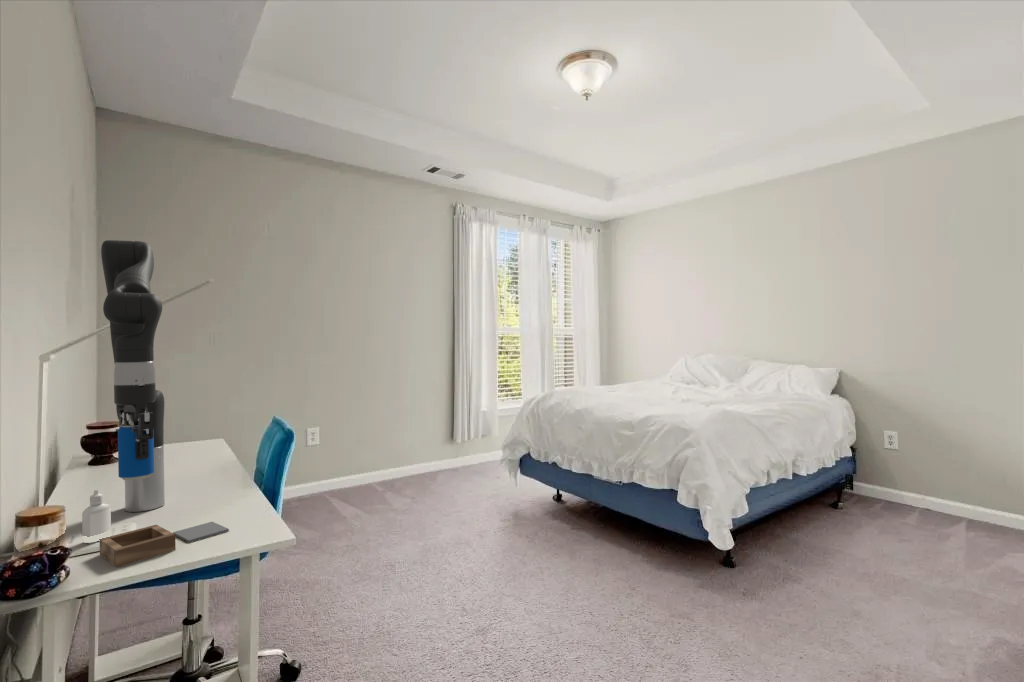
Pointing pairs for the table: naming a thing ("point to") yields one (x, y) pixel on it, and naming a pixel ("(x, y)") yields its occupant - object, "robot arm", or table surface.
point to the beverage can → (133, 456)
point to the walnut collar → (137, 545)
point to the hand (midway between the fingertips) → (136, 456)
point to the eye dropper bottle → (96, 516)
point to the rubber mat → (200, 531)
